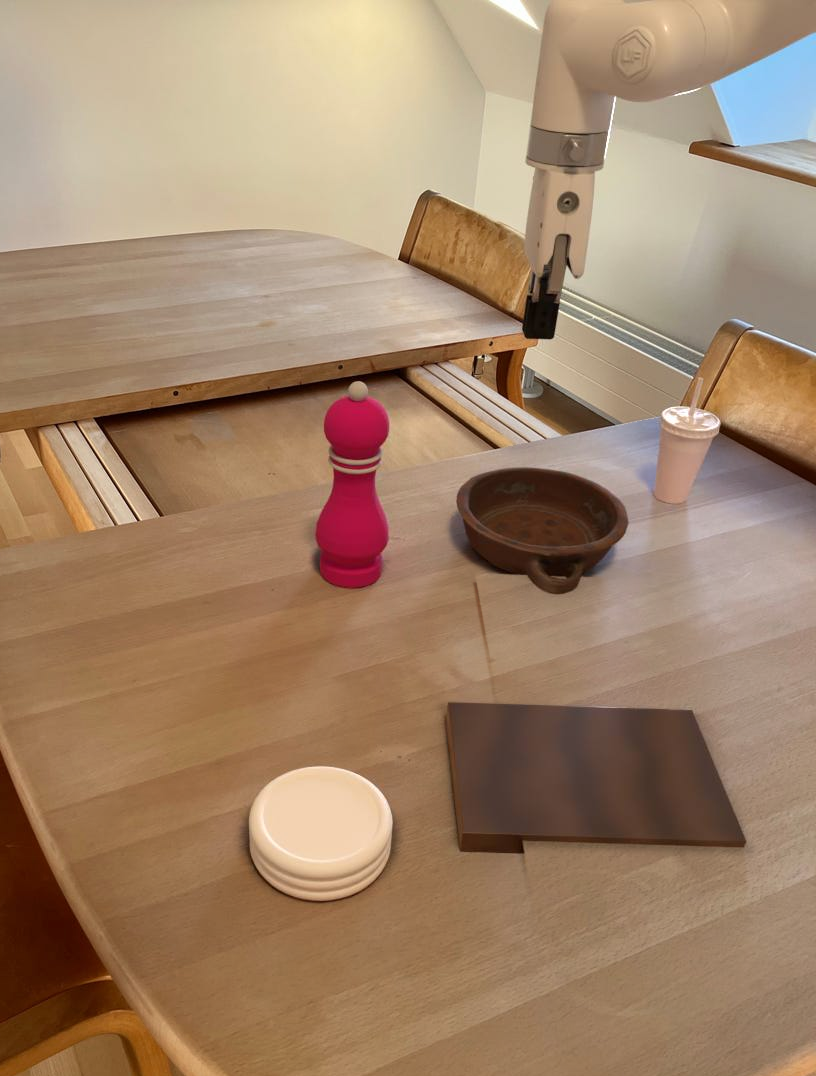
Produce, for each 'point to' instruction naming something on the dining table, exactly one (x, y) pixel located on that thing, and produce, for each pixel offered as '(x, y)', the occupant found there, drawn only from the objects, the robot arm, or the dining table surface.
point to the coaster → (320, 833)
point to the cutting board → (584, 777)
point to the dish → (541, 523)
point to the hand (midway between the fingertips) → (537, 335)
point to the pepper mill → (353, 491)
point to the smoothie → (683, 448)
